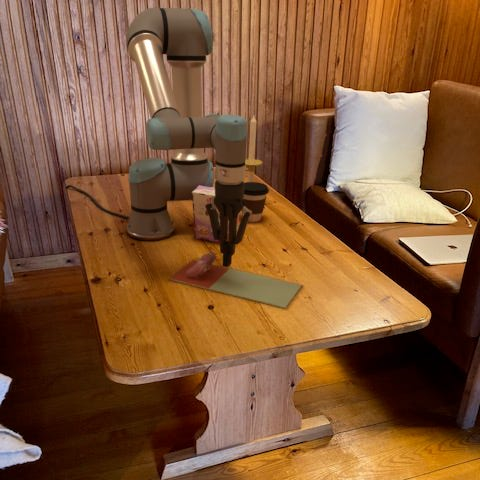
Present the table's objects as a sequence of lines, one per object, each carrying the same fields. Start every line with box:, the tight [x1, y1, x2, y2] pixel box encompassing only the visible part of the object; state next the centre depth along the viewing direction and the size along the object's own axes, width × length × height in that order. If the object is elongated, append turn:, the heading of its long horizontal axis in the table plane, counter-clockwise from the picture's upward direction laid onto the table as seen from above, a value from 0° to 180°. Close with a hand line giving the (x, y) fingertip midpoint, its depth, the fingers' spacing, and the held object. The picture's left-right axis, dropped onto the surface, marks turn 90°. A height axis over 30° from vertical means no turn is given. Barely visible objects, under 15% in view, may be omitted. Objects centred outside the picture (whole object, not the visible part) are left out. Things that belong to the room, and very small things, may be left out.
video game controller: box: [186, 252, 218, 278], centre depth 150 cm, size 10×5×7 cm, turn 156°
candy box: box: [191, 185, 240, 243], centre depth 169 cm, size 14×6×16 cm, turn 69°
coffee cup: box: [241, 181, 270, 223], centre depth 188 cm, size 11×11×12 cm
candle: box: [245, 114, 264, 182], centre depth 198 cm, size 10×10×32 cm
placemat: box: [169, 259, 303, 310], centre depth 148 cm, size 34×14×1 cm, turn 67°
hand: (227, 264), depth 147 cm, fingers closed
